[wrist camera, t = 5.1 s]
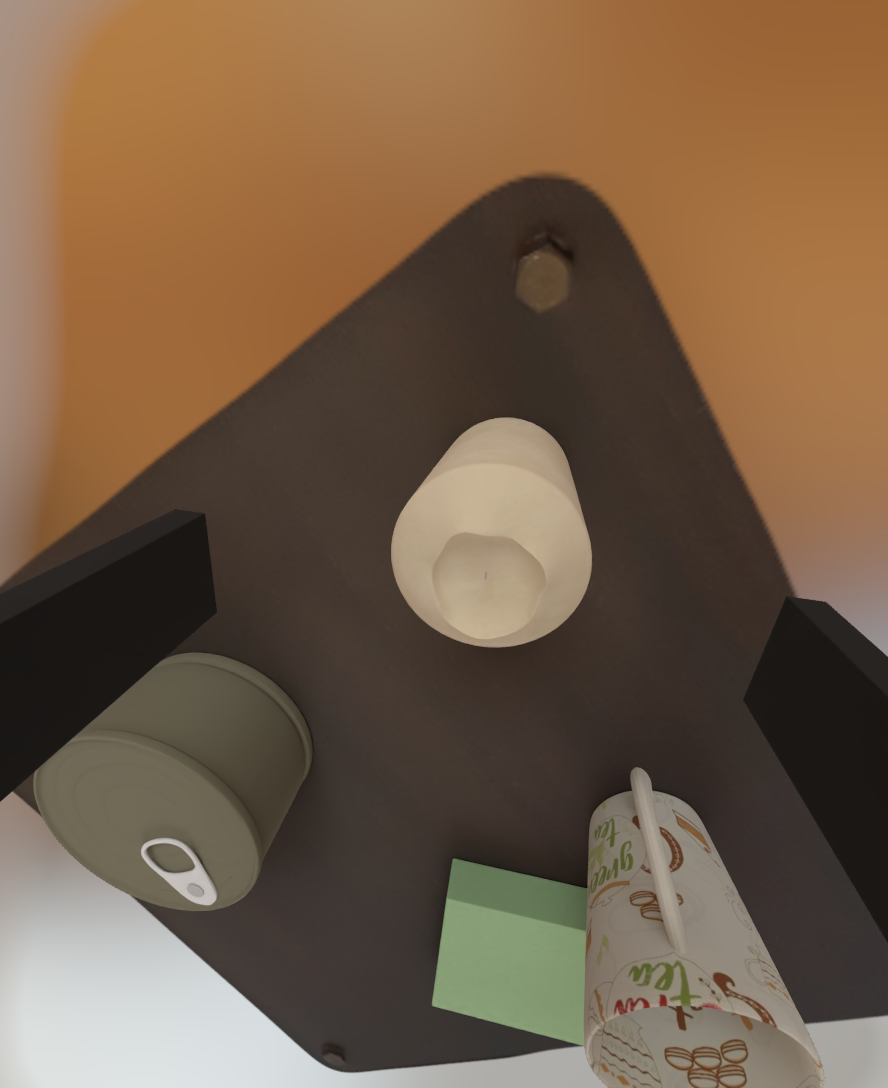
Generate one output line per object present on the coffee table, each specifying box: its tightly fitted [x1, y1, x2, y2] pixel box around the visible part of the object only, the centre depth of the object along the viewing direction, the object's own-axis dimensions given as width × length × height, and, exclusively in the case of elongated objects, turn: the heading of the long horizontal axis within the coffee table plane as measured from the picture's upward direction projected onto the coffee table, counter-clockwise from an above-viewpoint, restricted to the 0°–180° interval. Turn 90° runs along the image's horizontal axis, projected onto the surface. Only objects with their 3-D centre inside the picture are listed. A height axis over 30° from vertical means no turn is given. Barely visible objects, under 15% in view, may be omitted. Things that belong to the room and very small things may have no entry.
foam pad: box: [432, 859, 587, 1046], centre depth 32 cm, size 12×12×2 cm
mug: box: [584, 767, 824, 1088], centre depth 22 cm, size 8×13×10 cm, turn 19°
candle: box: [391, 418, 592, 647], centre depth 17 cm, size 6×6×10 cm
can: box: [34, 652, 313, 911], centre depth 27 cm, size 12×12×7 cm
